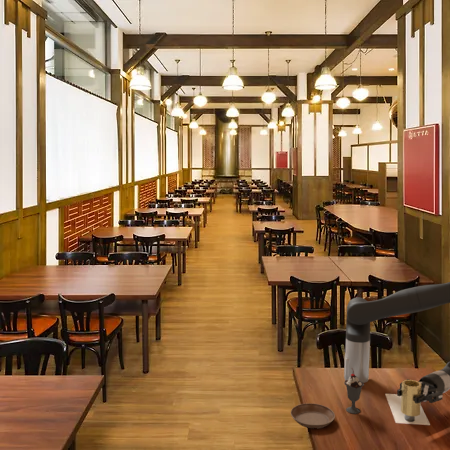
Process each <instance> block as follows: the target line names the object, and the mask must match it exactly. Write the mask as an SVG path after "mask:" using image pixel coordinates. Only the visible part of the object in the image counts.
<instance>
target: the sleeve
mask: <svg viewBox="0 0 450 450" xmlns="http://www.w3.org/2000/svg"><path fill="white" fill-rule="evenodd" d="M401 383H402V394H401V412H402V413H403V414H405V415H408V416H418V415H420V408H421V407H422V405H421V404H422V402H421V403H418V404H416V403H415V397H416V396H418V395H420V394H421V383H420V382H418V380H415V379H414V380H413V379H410V380H406V379H403V380H402V382H401Z"/></svg>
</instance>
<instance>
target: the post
mask: <svg viewBox="0 0 450 450" xmlns="http://www.w3.org/2000/svg"><path fill="white" fill-rule="evenodd" d="M405 420H406V421H409V422H413V421H415V416H408V415H405Z"/></svg>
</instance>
